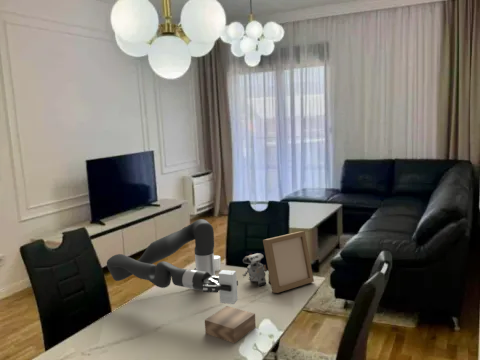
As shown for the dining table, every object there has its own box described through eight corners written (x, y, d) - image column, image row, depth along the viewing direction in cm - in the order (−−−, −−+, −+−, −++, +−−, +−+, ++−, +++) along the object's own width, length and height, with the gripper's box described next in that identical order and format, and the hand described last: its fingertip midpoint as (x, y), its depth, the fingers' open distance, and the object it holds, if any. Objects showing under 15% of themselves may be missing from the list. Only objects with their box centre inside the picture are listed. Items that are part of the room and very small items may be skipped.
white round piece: (208, 267, 242) (207, 255, 241) (221, 266, 243) (220, 254, 241) (208, 272, 235) (208, 259, 234) (221, 271, 236) (220, 258, 235)
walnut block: (205, 334, 170) (204, 319, 169) (227, 319, 181) (226, 305, 180) (234, 344, 162) (233, 328, 161) (255, 327, 173) (254, 313, 172)
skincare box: (238, 300, 171) (236, 270, 169) (234, 304, 167) (232, 274, 165) (223, 298, 173) (222, 269, 171) (219, 303, 169) (217, 273, 167)
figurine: (239, 283, 217) (238, 254, 215) (259, 278, 223) (258, 250, 220) (249, 289, 209) (247, 259, 207) (269, 284, 215) (268, 254, 213)
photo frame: (314, 283, 213) (312, 233, 209) (277, 295, 202) (274, 242, 198) (295, 274, 225) (293, 227, 222) (259, 285, 214) (256, 235, 211)
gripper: (206, 282, 182) (243, 288, 174) (187, 295, 169) (225, 302, 162) (205, 265, 181) (242, 270, 173) (185, 277, 168) (224, 283, 161)
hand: (234, 286), depth 167 cm, fingers closed on skincare box, 4 cm apart
